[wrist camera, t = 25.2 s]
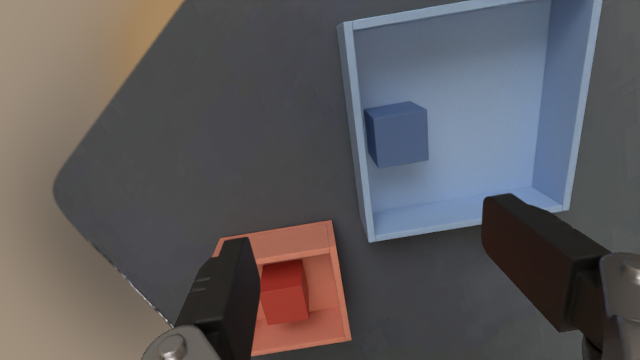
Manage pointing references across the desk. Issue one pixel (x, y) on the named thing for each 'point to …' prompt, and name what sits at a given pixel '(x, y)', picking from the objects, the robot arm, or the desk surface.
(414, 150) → the blue block
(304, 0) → the desk surface
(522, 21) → the blue bin
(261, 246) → the red bin
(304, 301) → the red block
